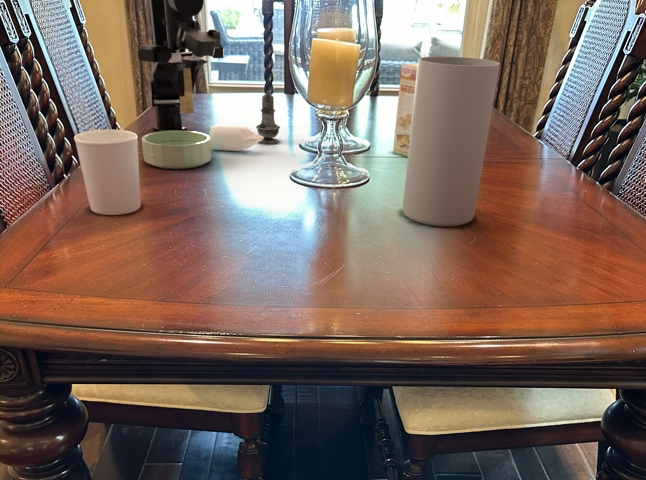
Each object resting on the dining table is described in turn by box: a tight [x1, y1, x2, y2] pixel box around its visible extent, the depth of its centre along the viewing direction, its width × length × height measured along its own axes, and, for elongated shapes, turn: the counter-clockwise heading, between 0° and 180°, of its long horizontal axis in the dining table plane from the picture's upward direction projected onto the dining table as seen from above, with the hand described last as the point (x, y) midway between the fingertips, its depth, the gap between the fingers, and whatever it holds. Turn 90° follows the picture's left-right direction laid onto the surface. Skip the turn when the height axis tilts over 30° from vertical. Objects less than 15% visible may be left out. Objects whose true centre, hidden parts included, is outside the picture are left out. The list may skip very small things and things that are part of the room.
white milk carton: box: [208, 124, 264, 152], centre depth 141 cm, size 6×12×6 cm, turn 83°
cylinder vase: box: [402, 55, 501, 228], centre depth 101 cm, size 12×12×25 cm
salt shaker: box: [255, 89, 281, 145], centre depth 148 cm, size 6×6×12 cm
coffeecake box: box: [392, 63, 418, 158], centre depth 143 cm, size 15×7×20 cm, turn 131°
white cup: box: [73, 129, 142, 216], centre depth 102 cm, size 10×10×12 cm
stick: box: [180, 68, 195, 115], centre depth 132 cm, size 2×2×9 cm
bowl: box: [141, 130, 212, 170], centre depth 131 cm, size 14×14×5 cm
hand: (185, 95), depth 132 cm, fingers closed on stick, 2 cm apart
